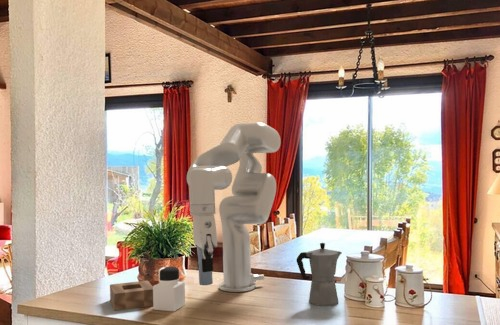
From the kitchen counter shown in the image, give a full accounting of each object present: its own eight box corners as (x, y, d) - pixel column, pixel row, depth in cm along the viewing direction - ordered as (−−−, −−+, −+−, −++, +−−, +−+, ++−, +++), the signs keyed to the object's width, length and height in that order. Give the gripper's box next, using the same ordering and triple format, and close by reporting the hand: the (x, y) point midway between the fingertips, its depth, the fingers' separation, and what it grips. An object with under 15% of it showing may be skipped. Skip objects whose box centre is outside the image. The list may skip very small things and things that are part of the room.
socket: (147, 295, 157) (147, 280, 157) (155, 305, 146) (154, 289, 146) (110, 300, 153) (109, 284, 153) (114, 310, 142) (114, 293, 142)
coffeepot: (334, 295, 153) (333, 239, 153) (350, 303, 144) (349, 243, 145) (291, 300, 148) (289, 242, 148) (304, 309, 139) (303, 247, 139)
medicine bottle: (185, 304, 146) (184, 265, 146) (174, 312, 139) (173, 270, 139) (164, 303, 148) (164, 264, 148) (152, 310, 142) (152, 269, 142)
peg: (210, 280, 147) (208, 241, 146) (214, 284, 143) (212, 244, 142) (197, 282, 145) (195, 243, 145) (201, 286, 141) (199, 246, 141)
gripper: (223, 211, 137) (226, 274, 138) (206, 205, 152) (209, 261, 153) (198, 214, 134) (201, 278, 135) (183, 207, 149) (186, 265, 150)
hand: (205, 269), depth 144 cm, fingers closed on peg, 4 cm apart
